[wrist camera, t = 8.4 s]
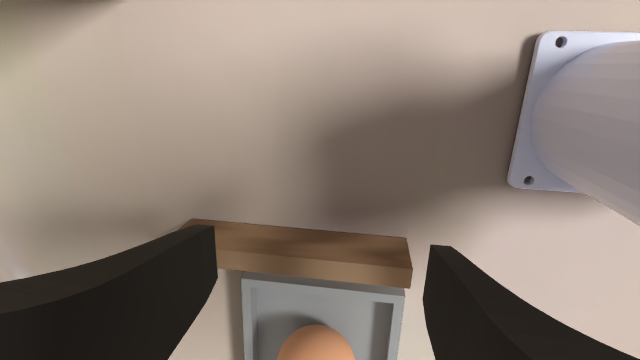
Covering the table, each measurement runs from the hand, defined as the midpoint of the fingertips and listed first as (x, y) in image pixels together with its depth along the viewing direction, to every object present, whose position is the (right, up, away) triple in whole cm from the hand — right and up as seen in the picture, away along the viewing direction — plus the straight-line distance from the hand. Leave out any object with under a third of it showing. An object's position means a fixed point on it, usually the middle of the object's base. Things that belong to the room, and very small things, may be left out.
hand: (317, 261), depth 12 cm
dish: (0, -8, +13) cm, 15 cm away
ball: (0, -8, +13) cm, 15 cm away
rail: (-2, -1, +11) cm, 11 cm away
